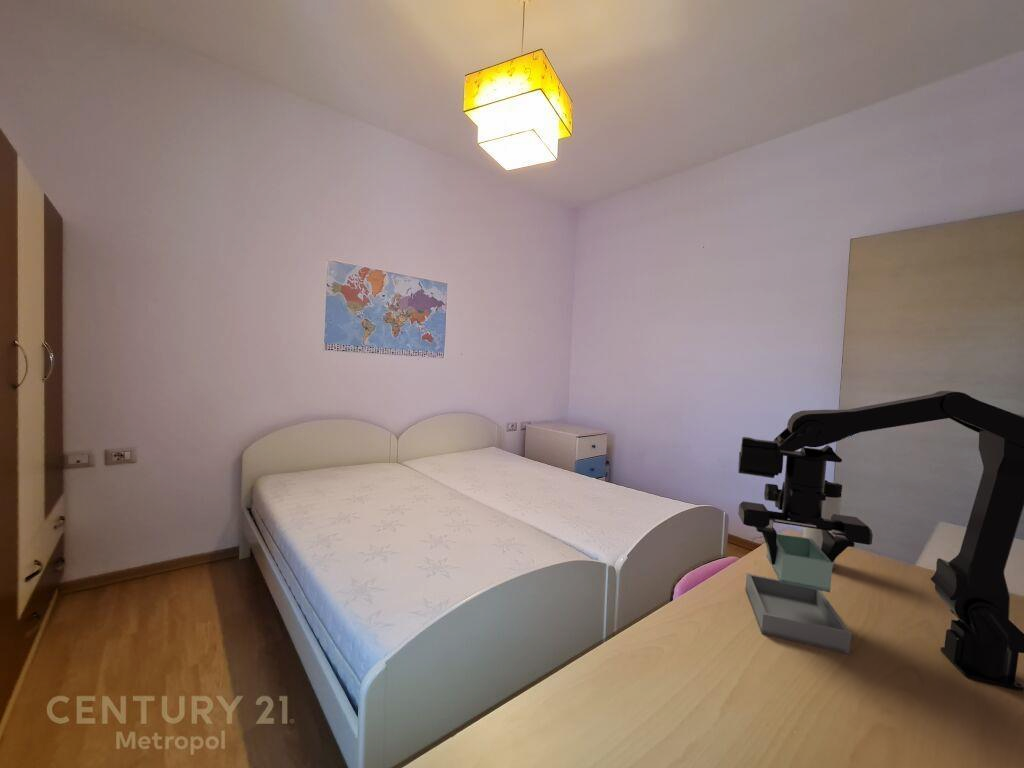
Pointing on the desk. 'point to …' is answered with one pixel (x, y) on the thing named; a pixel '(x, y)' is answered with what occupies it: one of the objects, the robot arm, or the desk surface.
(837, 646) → the tray
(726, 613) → the desk surface
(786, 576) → the small tote
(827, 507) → the travel mug
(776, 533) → the robot arm
